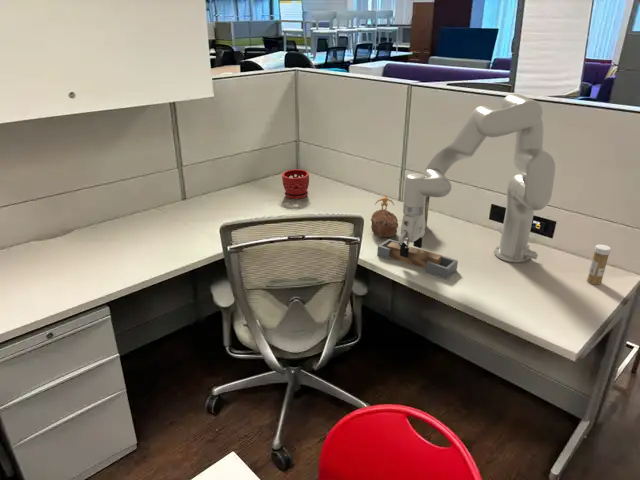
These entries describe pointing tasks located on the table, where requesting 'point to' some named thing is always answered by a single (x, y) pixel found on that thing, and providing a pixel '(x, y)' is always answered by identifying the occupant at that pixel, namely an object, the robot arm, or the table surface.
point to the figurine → (384, 201)
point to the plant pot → (296, 183)
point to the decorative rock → (384, 223)
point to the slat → (414, 256)
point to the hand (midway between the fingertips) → (410, 251)
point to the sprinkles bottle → (598, 264)
